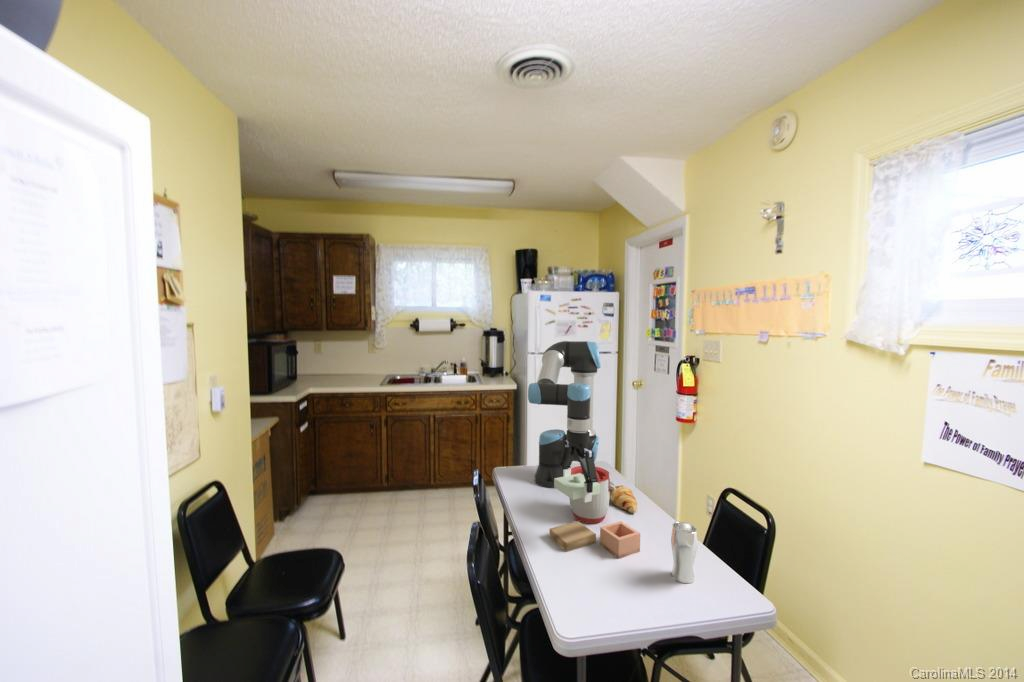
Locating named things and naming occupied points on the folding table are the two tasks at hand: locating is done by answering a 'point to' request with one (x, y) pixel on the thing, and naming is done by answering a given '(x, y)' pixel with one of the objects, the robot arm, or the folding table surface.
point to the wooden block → (572, 536)
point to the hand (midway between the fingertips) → (576, 494)
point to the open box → (620, 539)
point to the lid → (574, 486)
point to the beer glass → (683, 551)
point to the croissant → (623, 498)
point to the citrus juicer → (593, 499)
